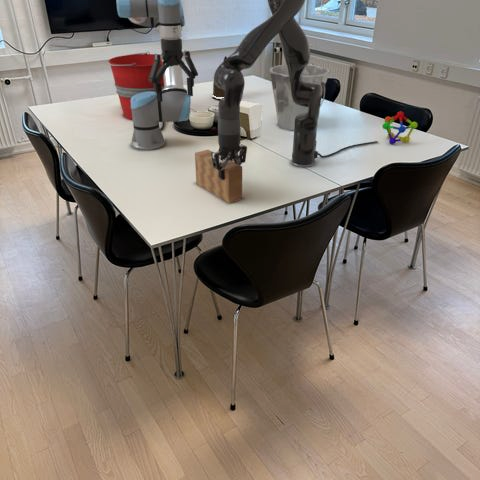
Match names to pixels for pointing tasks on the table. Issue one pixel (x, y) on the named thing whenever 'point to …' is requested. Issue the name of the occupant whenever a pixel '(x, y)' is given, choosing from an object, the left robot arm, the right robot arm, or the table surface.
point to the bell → (216, 90)
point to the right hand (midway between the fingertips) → (229, 176)
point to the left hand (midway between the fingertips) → (175, 98)
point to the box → (210, 180)
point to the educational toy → (398, 128)
